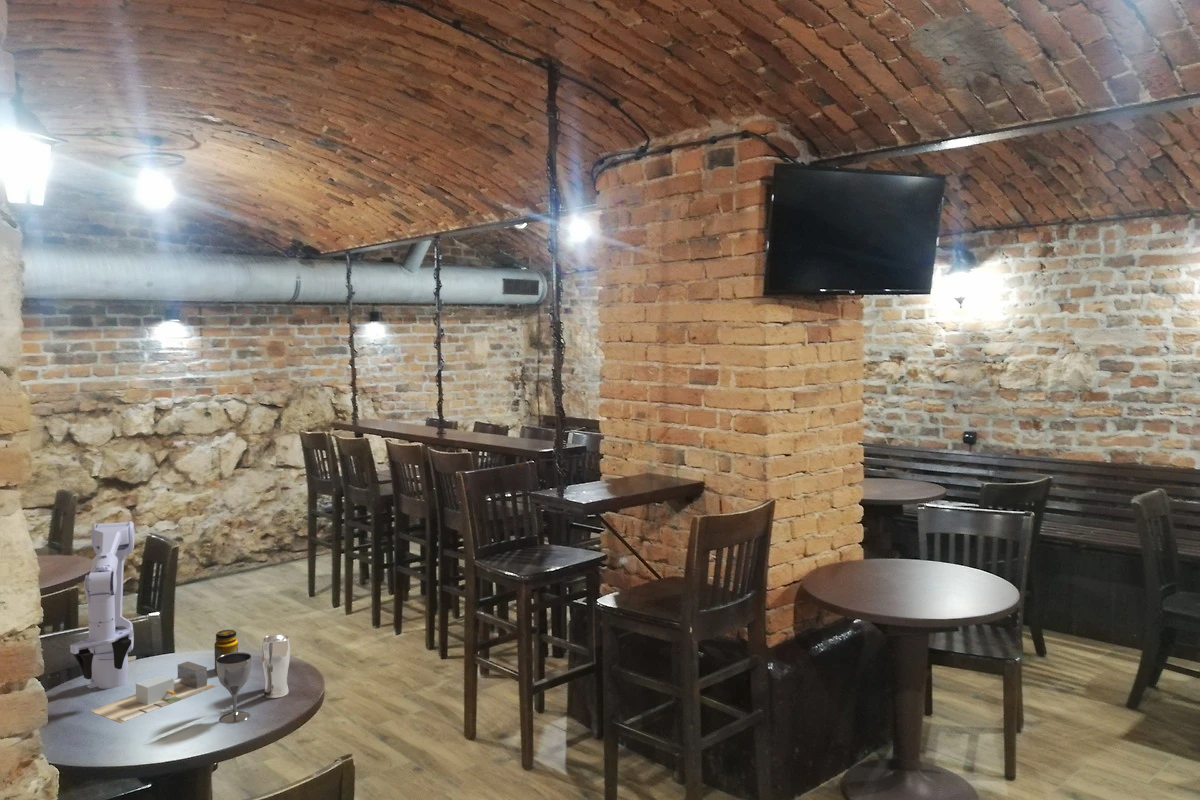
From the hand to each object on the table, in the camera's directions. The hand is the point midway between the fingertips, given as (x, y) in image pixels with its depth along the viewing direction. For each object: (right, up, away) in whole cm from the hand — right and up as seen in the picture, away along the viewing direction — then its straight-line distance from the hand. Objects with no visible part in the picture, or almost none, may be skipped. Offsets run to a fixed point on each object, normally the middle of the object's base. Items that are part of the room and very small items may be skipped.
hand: (103, 673), depth 216 cm
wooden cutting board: (+10, -10, +7) cm, 15 cm away
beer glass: (+38, -10, +13) cm, 42 cm away
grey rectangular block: (+15, -8, +16) cm, 23 cm away
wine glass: (+33, -11, -1) cm, 35 cm away
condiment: (+19, -9, +25) cm, 33 cm away
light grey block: (+12, -8, +8) cm, 16 cm away
